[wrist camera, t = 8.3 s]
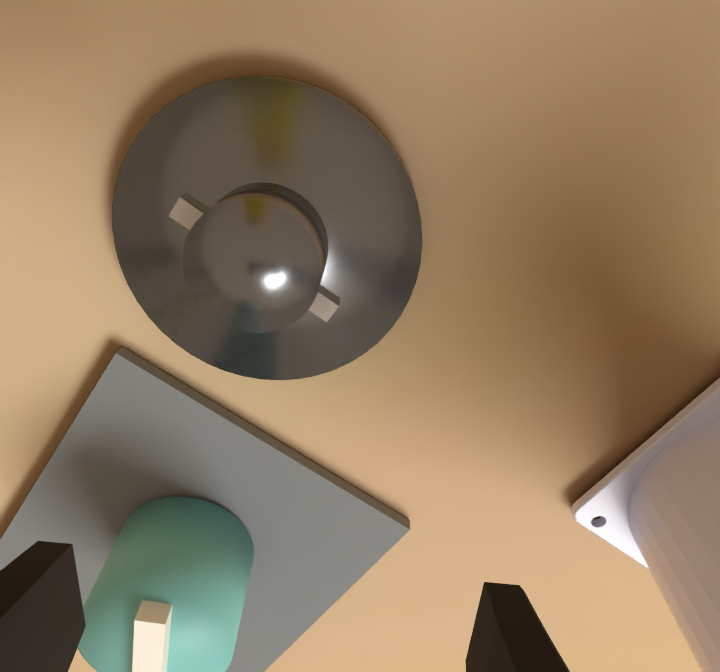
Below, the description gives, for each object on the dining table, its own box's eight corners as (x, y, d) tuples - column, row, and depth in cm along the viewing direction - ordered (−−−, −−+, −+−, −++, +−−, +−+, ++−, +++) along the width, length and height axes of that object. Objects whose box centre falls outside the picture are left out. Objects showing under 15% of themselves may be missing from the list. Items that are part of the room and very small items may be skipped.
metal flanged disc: (483, 208, 17) (501, 235, 15) (310, 417, 21) (300, 468, 18) (216, -1, 15) (183, -12, 13) (71, 268, 19) (21, 301, 16)
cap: (246, 601, 24) (221, 722, 20) (119, 583, 23) (66, 703, 19) (261, 508, 22) (237, 623, 17) (121, 486, 21) (62, 598, 17)
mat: (409, 520, 22) (409, 529, 22) (243, 683, 27) (240, 694, 26) (122, 346, 20) (115, 353, 19) (-11, 559, 24) (-18, 569, 24)
